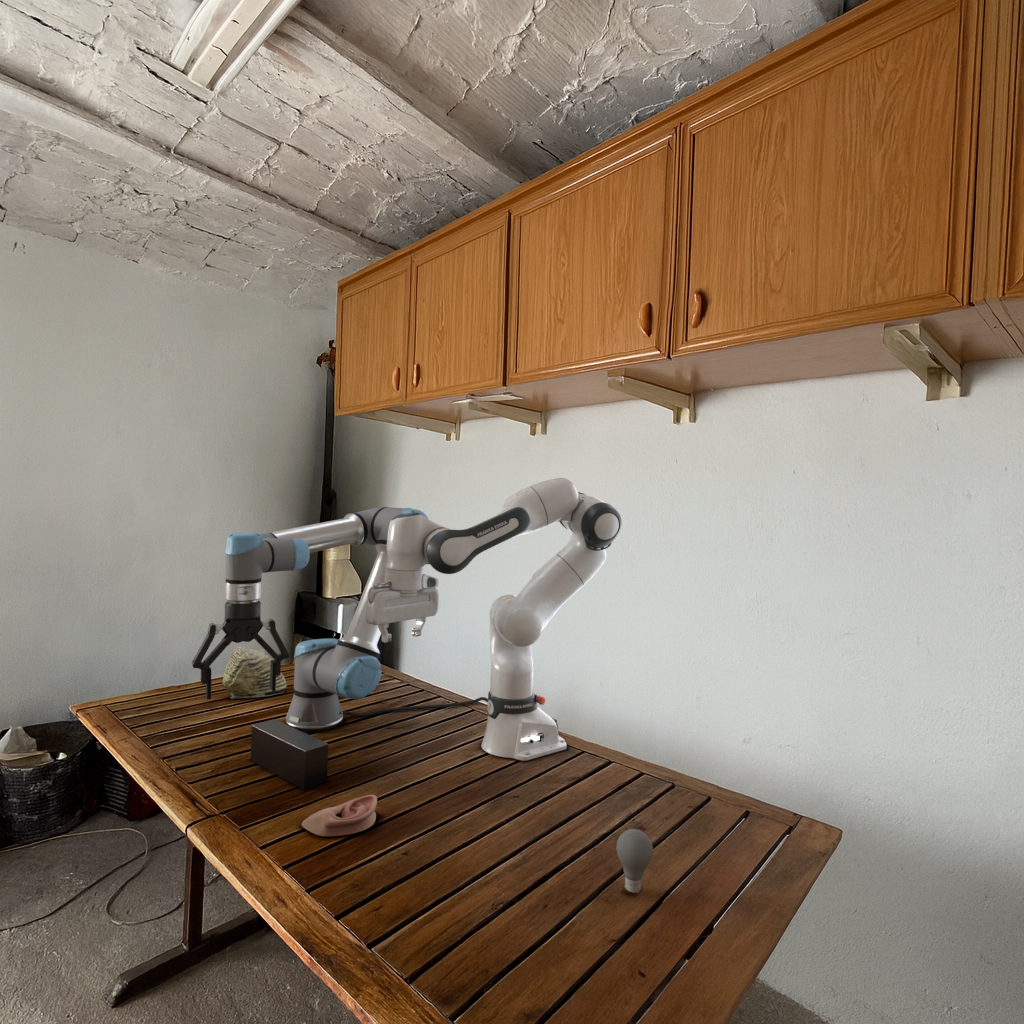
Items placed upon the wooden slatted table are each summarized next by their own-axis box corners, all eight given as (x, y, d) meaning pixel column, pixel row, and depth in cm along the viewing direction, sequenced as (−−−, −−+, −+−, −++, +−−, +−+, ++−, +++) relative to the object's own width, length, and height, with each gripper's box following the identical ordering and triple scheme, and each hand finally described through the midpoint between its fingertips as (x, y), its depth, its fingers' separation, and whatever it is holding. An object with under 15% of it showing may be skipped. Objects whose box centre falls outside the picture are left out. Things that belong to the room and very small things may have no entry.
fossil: (218, 695, 195) (220, 647, 195) (278, 685, 208) (279, 640, 207) (228, 703, 189) (230, 653, 188) (289, 692, 201) (290, 645, 201)
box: (250, 760, 150) (251, 725, 150) (273, 753, 155) (274, 718, 155) (303, 789, 137) (305, 751, 136) (327, 781, 141) (328, 743, 141)
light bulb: (610, 879, 108) (613, 822, 108) (644, 879, 109) (647, 822, 109) (619, 902, 102) (622, 840, 102) (655, 901, 103) (658, 840, 103)
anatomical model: (293, 811, 119) (323, 784, 130) (292, 831, 119) (323, 803, 130) (359, 821, 116) (384, 793, 128) (358, 842, 116) (383, 813, 128)
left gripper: (182, 607, 134) (180, 706, 134) (303, 599, 147) (301, 690, 147) (179, 601, 140) (178, 696, 141) (296, 594, 153) (294, 681, 154)
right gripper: (378, 585, 140) (375, 648, 140) (443, 579, 156) (441, 635, 156) (360, 582, 144) (358, 643, 144) (425, 576, 160) (423, 630, 160)
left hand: (241, 693), depth 144 cm, fingers open, 13 cm apart
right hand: (401, 638), depth 151 cm, fingers open, 8 cm apart
